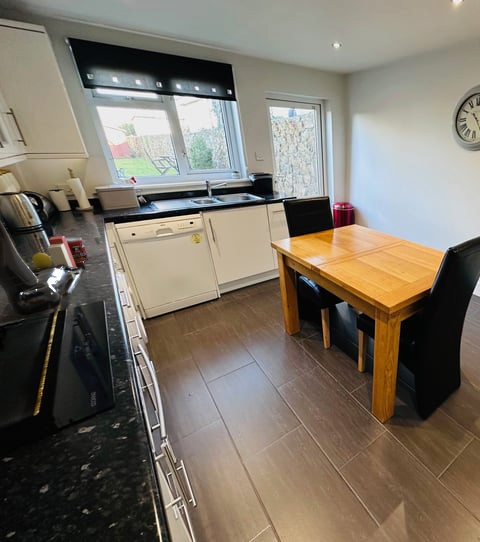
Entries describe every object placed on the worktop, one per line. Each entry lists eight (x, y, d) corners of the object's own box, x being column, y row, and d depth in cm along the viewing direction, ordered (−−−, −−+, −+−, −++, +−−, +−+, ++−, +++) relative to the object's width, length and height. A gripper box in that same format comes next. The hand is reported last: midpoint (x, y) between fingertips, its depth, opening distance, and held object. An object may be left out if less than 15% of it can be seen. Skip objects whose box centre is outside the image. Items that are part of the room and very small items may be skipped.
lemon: (49, 270, 125) (42, 254, 122) (33, 271, 124) (25, 254, 121) (57, 266, 130) (50, 250, 127) (42, 267, 129) (35, 250, 126)
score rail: (43, 301, 101) (38, 290, 99) (62, 273, 123) (58, 264, 122) (73, 295, 105) (69, 285, 104) (86, 269, 128) (83, 261, 126)
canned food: (70, 264, 133) (61, 242, 128) (65, 261, 137) (56, 239, 132) (91, 260, 139) (83, 238, 134) (86, 256, 143) (78, 235, 138)
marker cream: (60, 280, 114) (47, 247, 108) (63, 276, 118) (50, 244, 112) (73, 278, 116) (60, 246, 110) (75, 274, 120) (63, 243, 114)
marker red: (63, 276, 118) (48, 239, 111) (66, 272, 121) (51, 236, 115) (75, 274, 120) (61, 238, 113) (78, 270, 123) (64, 235, 117)
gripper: (72, 268, 102) (80, 255, 115) (18, 276, 95) (34, 260, 108) (79, 287, 105) (87, 272, 118) (28, 296, 97) (42, 278, 110)
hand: (61, 266), depth 113 cm, fingers closed
